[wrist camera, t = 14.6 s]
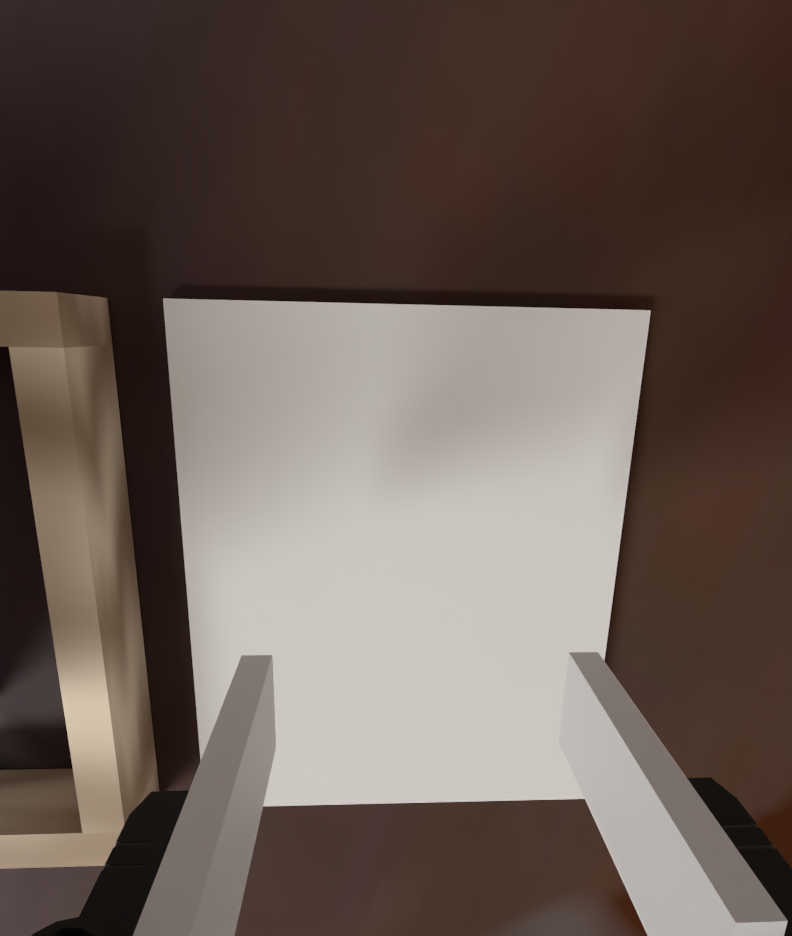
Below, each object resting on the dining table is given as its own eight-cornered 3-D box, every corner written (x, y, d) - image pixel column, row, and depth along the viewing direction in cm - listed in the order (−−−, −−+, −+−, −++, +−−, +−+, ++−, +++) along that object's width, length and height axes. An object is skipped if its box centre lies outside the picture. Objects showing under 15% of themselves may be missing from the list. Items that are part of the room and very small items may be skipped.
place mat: (169, 299, 18) (162, 298, 17) (642, 310, 19) (650, 310, 18) (208, 795, 23) (204, 807, 22) (581, 787, 24) (586, 798, 23)
